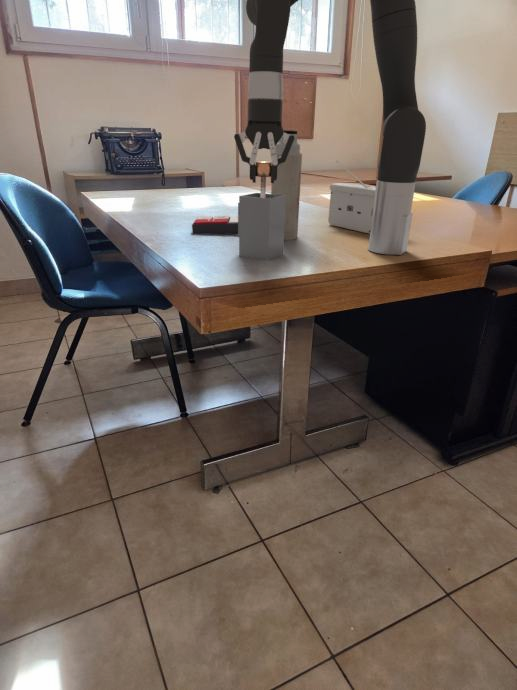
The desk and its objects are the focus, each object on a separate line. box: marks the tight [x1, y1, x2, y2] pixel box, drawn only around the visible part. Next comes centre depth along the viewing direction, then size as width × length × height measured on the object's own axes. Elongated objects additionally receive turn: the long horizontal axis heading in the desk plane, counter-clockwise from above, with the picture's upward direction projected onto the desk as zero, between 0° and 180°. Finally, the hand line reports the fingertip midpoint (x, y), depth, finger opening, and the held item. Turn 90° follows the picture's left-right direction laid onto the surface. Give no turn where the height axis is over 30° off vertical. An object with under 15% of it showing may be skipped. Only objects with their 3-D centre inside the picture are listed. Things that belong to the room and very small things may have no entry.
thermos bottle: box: [270, 129, 303, 241], centre depth 125 cm, size 8×8×28 cm
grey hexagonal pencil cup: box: [237, 192, 286, 261], centre depth 109 cm, size 10×8×14 cm
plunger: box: [255, 161, 272, 198], centre depth 107 cm, size 6×6×20 cm
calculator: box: [191, 215, 238, 235], centre depth 137 cm, size 11×4×15 cm
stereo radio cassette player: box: [327, 160, 376, 235], centre depth 140 cm, size 21×8×20 cm, turn 37°
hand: (263, 182), depth 104 cm, fingers closed on plunger, 3 cm apart
